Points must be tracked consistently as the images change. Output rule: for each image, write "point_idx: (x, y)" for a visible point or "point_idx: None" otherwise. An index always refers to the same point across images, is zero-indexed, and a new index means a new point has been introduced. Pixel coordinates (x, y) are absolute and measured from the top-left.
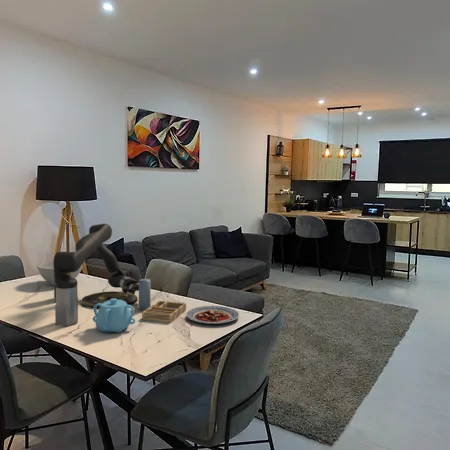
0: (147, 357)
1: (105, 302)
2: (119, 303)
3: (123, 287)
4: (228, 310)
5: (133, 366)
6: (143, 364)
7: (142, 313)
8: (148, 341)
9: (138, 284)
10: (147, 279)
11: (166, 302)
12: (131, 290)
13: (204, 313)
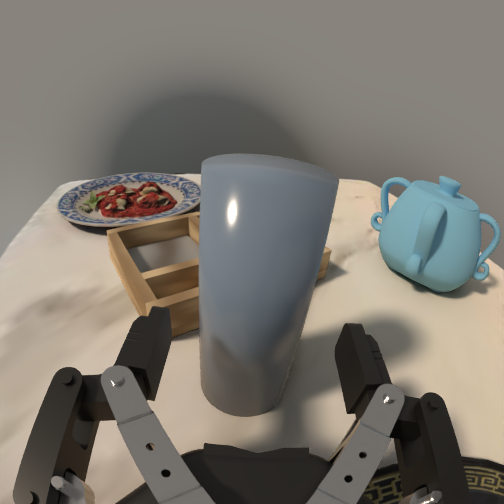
0: (359, 190)
1: (474, 207)
2: (430, 187)
3: (460, 458)
4: (77, 194)
5: (379, 190)
6: (367, 187)
7: (329, 254)
8: (346, 206)
9: (193, 478)
10: (228, 165)
11: (149, 272)
12: (375, 349)
13: (128, 207)
